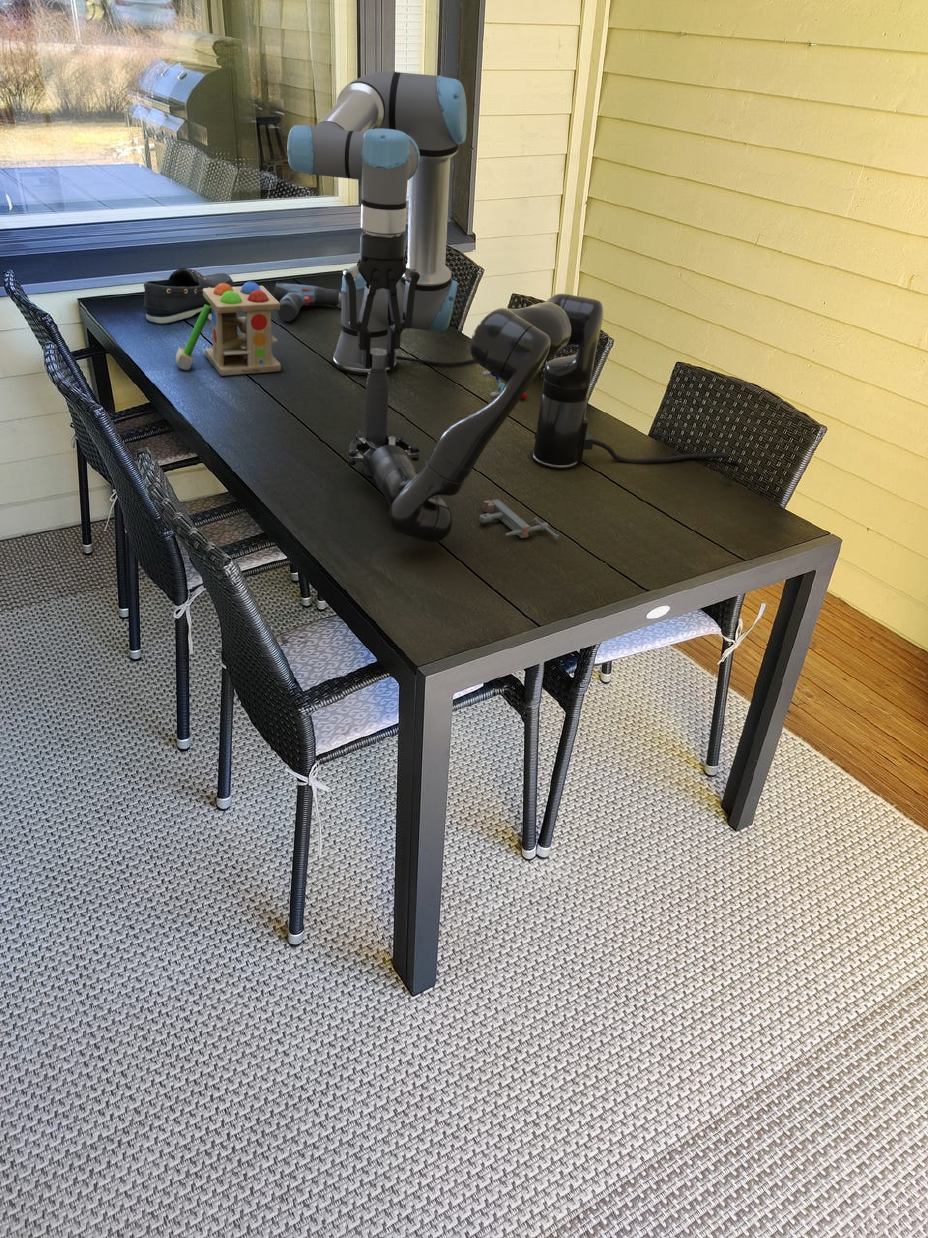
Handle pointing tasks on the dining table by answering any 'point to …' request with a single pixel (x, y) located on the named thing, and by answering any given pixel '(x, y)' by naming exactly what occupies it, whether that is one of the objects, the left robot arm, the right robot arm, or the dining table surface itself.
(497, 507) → the clamp
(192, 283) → the boat shoe
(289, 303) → the power drill
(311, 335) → the dining table surface
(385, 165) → the left robot arm
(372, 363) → the cap
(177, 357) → the pounding bench toy
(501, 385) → the molecular model
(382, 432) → the dark grey cylinder
